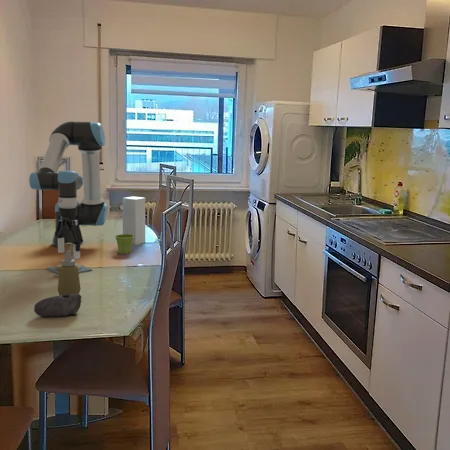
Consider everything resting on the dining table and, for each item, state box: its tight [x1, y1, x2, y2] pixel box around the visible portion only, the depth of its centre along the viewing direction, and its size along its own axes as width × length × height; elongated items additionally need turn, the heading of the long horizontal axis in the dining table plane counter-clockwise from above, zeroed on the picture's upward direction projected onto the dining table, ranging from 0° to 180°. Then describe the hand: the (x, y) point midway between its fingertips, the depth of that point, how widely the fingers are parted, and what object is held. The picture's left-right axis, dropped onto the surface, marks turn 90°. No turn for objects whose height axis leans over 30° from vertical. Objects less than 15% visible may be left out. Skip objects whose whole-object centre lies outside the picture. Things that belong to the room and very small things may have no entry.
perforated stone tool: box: [33, 293, 82, 318], centre depth 168 cm, size 15×5×7 cm, turn 107°
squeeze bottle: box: [57, 250, 81, 296], centre depth 184 cm, size 8×8×18 cm
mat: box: [46, 264, 93, 276], centre depth 223 cm, size 14×14×1 cm
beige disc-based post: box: [56, 243, 82, 270], centre depth 222 cm, size 10×10×11 cm
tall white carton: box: [122, 195, 146, 246], centre depth 278 cm, size 9×9×25 cm
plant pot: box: [114, 233, 134, 255], centre depth 256 cm, size 9×9×9 cm
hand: (68, 255), depth 222 cm, fingers open, 13 cm apart
